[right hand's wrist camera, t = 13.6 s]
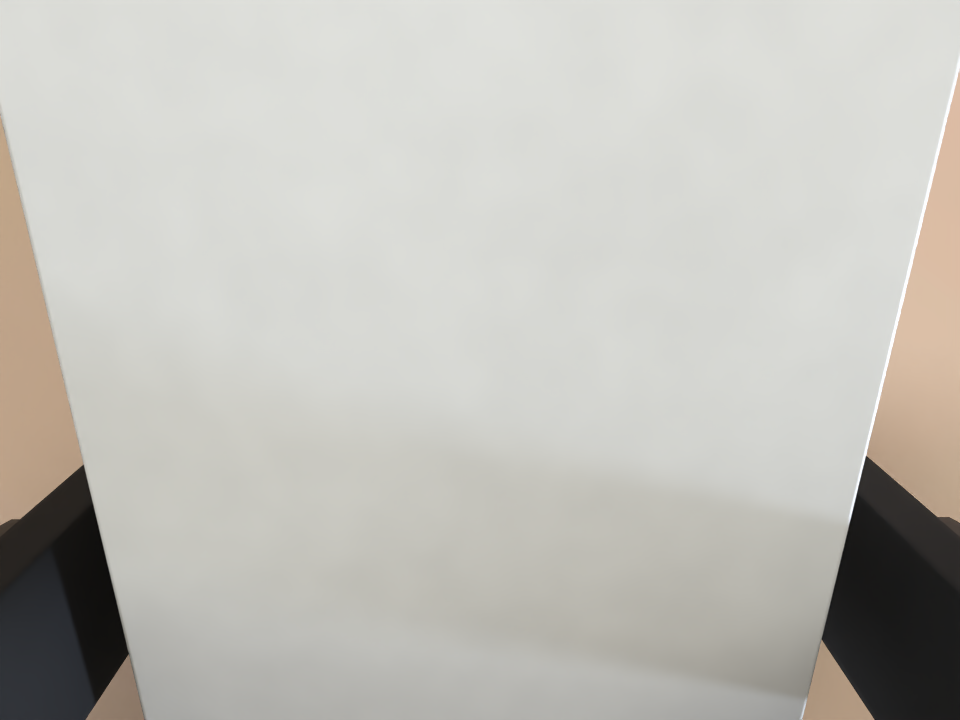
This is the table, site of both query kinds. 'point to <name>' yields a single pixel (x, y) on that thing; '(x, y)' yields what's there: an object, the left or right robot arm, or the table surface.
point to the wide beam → (474, 336)
